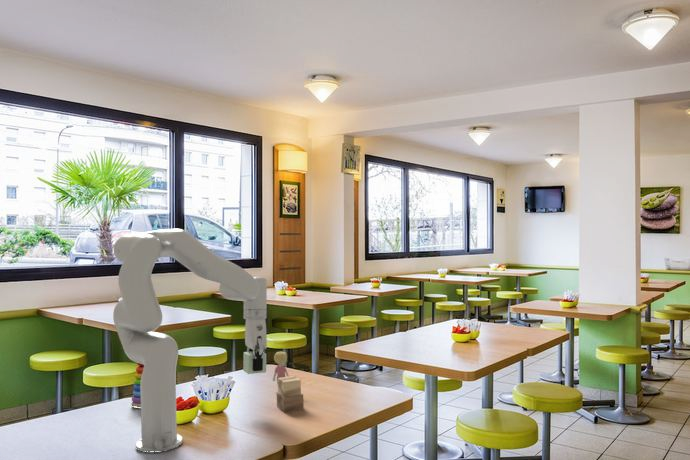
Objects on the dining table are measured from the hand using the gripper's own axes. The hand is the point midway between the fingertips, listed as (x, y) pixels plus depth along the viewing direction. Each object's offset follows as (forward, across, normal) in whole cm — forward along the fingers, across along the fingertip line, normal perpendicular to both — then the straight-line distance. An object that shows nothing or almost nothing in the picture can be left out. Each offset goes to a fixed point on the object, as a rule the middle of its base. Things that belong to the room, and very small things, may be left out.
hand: (254, 368), depth 184 cm
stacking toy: (+16, +28, +32) cm, 45 cm away
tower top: (+10, 0, -12) cm, 15 cm away
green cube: (+1, 0, 0) cm, 1 cm away
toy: (+14, +20, -16) cm, 29 cm away
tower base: (+15, 0, -12) cm, 19 cm away
